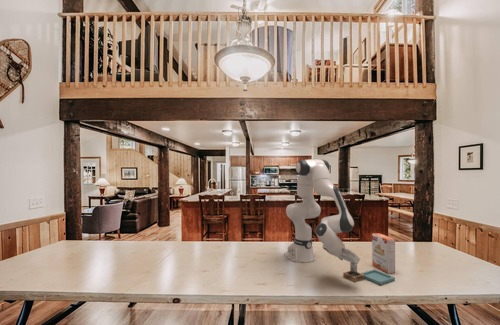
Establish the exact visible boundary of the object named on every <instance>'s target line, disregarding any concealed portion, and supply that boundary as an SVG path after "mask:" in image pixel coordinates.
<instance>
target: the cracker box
mask: <svg viewBox="0 0 500 325" xmlns="http://www.w3.org/2000/svg"><path fill="white" fill-rule="evenodd" d="M371 244H372V245H371V252H372V254H371V258H372V260H371V263H372V264H371V265H372V266H373V267H375V268H376V269H378V270H379V271H381V272H382V273H385V274H388V275H390V274H396V239H395V238H393V237H390V236H387V235H385V234H382V233H380V232H379V233H377V232H376V233H372V234H371Z"/></svg>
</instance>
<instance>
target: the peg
mask: <svg viewBox="0 0 500 325" xmlns="http://www.w3.org/2000/svg"><path fill="white" fill-rule="evenodd" d="M349 264H350V267H349V268H350V270H349V271H350V275H352V276H354V277H355V276H357V272H358V264H357V265H356V266H355V265H353V264H352V262H349Z"/></svg>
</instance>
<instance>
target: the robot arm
mask: <svg viewBox="0 0 500 325" xmlns="http://www.w3.org/2000/svg"><path fill="white" fill-rule="evenodd" d="M330 169H331V167H330V163H329V162H328V160H326V159H325V160H324V159H316V158H315V159H314V158H312V159H300V160H298V161H297V162H296V164H295V170H296V173H297V174H298V176H297V185H296V194H297V196H298V197H299V198H301V199H302V202H294V203H290V204H288V205H287V206H286V209H285V214H286V216H287V217H288V219H290V221H292V223H293V226H294V231H295V237H294V238H292V240H294V241H293V242H292V243H291V244H289V245H288V247H287V251H286V252H284V253H283V255H284V256H286V257H287V258H288V259H289V260H290V261H292V262H298V263H312V262H313V261H314V260H315V255H314V249H313V248H314V246H313V238H312V237H313V235H312V233H313V232H312V227H311V225H310V224H308V223H306V219H313V218H317V217H320V215H321V211H322V208H321V206H320V205H319V203H317V201H316V200H315V197H314V192H315V193H316V194H317V195H319V196H322V197H329V198H332V199H333V200H334V203H335V205H336V207H337V209H338V213H337V214H335V215H330V216H324V217H322V218H321V219H320V221H319V224H318V225H317V226H316V227H315V235H316V237H317V238H318V240H319V241H320V242H321V243H322V246H321V247H322V249H323V250H324V251H326V253H328V254H329V255H331V256H335V257H337V258H338V259H339V260H340V261H343V260H344V261H347V262H349V263H350V262H352V264H353V265H355V266H356V265H357V266H358V264H359V262H360V261H361V258H360V257H359V256H358V255H357V254H356V253H355V252H354V251H352V250H351V249H349V248H348V249H347V248H346V245H345V244H344V242H343V241H342V240H341V238H340V237H339V236H337V234H339V233H350V232H352V230H353V228H354V227H355V221H354V219H353V216H352V215H351V213H350V211H349V209H348V206H347V204H346V201H345V199H344V196H343V193H342V192H341V190H340V189H339V187H338V186H336V185H334V184H333V182H332V178H331V174H330Z"/></svg>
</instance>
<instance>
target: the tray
mask: <svg viewBox="0 0 500 325" xmlns="http://www.w3.org/2000/svg"><path fill="white" fill-rule="evenodd" d="M360 273H361V274H363V275H364V280H365V281H369V282H370V283H371V284H375V285H377V286H380V287H381V286H384V285H387V284H390V283H393V282H395V281H396V277H395V276H392V275H390V274H387V273H385V272H383V271H381V270H377V269H370V270H367V271H363V272H360Z"/></svg>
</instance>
